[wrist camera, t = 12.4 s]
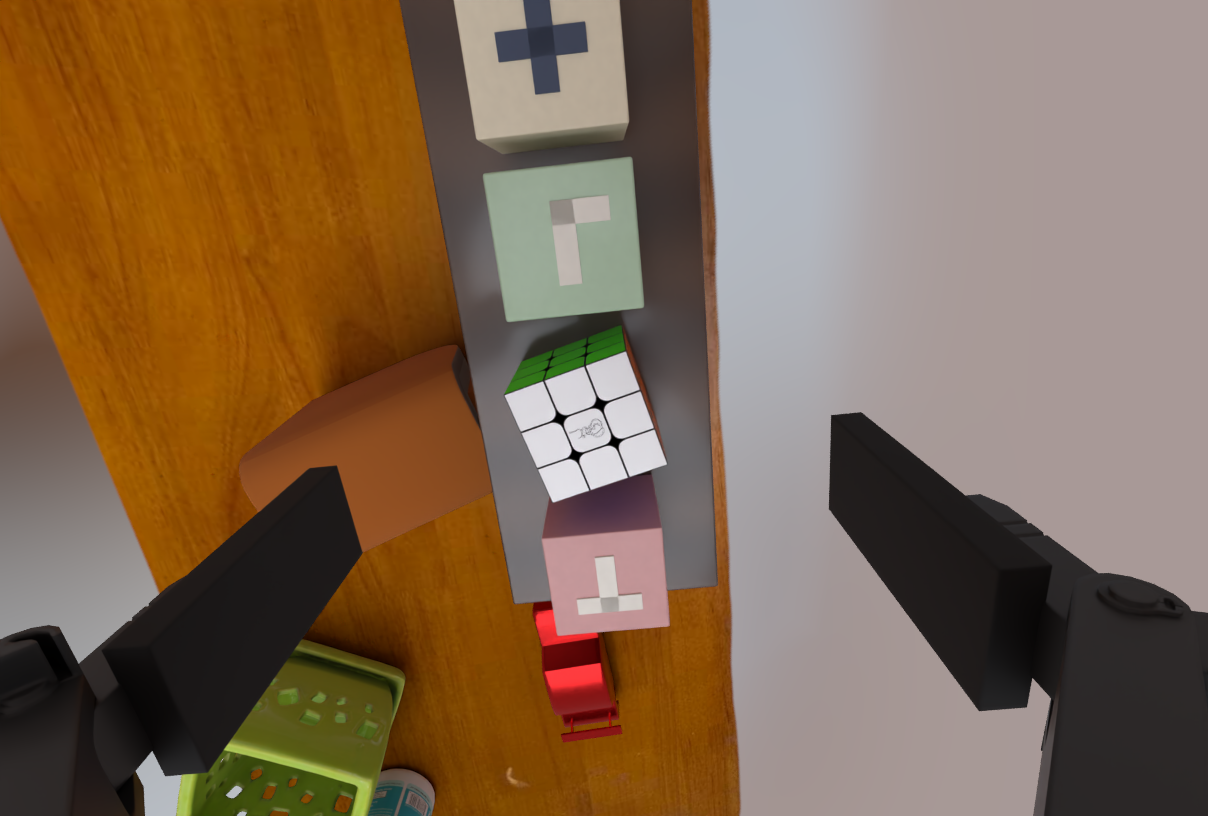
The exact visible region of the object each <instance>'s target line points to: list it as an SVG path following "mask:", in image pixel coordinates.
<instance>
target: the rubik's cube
mask: <svg viewBox="0 0 1208 816" xmlns="http://www.w3.org/2000/svg"><path fill="white" fill-rule="evenodd" d="M504 397H505V400H506V402H507V404H508V406H509V408H510V411H511V413H512V415H513V417H514V419H515V422H516V424H517V426H518V428H519V431H520V432H521V435H522V437H523V439H524V442H525V444H526V446H527V448H528V450H529V453H530V455H531V457H532V459H533V461H534V464H535V466H536V468H537V470H538V473H539V475H540V477H541V479H542V481H543V484H544V486H545V488H546V490H547V492H548V495H549V497H550V499H551V501H552V503H555V502H558V501H561V500H564V499H567V498H570V497H573V496H576V495H579V494H582V493H585V492H588V491H590V490H594V489H597V488H600V487H603V486H606V485H609V484H612V483H615V482H618V481H621V480H624V479H627V478H629V477H633V476H636V475H639V474H642V473H645V472H648V471H651V470H654V469H657V468H660V467H663V466H665V465H668V462H667V458H666V454H665V450H664V446H663V442H662V439H661V435H660V431H659V427H658V423H657V420H656V417H655V414H654V411H653V409H652V406H651V403H650V400H649V398H648V395H647V392H646V389H645V387H644V384H643V381H642V378H641V376H640V373H639V370H638V367H637V365H636V362H635V359H634V356H633V354H632V351H631V348H630V346H629V343H628V340H627V337H626V335H625V332H624V329H623V326H622V325H620V326H617V327H614V328H612V329H609V330H606V331H604V332H601V333H598V334H595V335H593V336H590V337H588V338H585V339H582V340H579V341H576V342H574V343H571V344H568V345H566V346H563V347H560V348H557V349H555V350H552V351H549V352H546V353H544V354H541V355H538V356H536V357H533V358H530V359H527V360H525V361H522V362H521V363H520V365H519V367H518V369H517V371H516V373H515V374H514V376H513V378H512V380H511V382H510V384H509V386H508V388H507V389H506V391H505V393H504Z"/></svg>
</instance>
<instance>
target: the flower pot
mask: <svg viewBox="0 0 1208 816" xmlns="http://www.w3.org/2000/svg"><path fill="white" fill-rule="evenodd" d="M404 685H405V674H404V673H403V672H402V671H401V670H400V669H398V668H396V667H393V666H390V665H387V664H384V663H381V662H378V661H374V660H371V659H368V658H364V657H361V656H358V655H355V654H351V653H348V652H345V651H342V650H338V649H335V648H332V647H328V646H325V645H321V644H318V643H315V642H311V641H308V640H304V639H302V640H301V641H300V643H299V644H298V646H297V647H296V648H295V650H294V651H293V653H292V654H291V655H290V657H289V658H288V660H287V661H286V663H285V664H284V665H283V667H282V668H281V670H280V671H279V672H278V674H277V675H276V677H275V678H274V680H273V681H272V682H271V684H270V685H269V687H268V688H267V689H266V691H265V692H264V694H263V695H262V697H261V698H260V699H259V701H258V702H257V704H256V705H255V706H254V708H253V709H252V711H251V712H250V714H249V715H248V716H247V718H246V719H245V721H244V722H243V724H242V725H241V726H240V728H239V729H238V731H237V732H236V733H235V735H234V736H233V738H232V739H231V741H230V742H229V743H228V745H227V746H226V748H225V749H224V750H223V752H222V753H221V755H220V756H219V758H218V759H217V760H216V762H215V763H214V765H213V766H212V767H211V769H210V770H209V772H208V773H199V774H186V775H182V777H181V784H180V790H179V797H178V805H177V814H176V816H237V814H238V813H239V812H242V811H244V812H247V814H246V816H269V815H270V814H271V812H272V811H273V810H277V811H284V812H288V816H368V813H369V810H370V807H371V804H372V800H373V797H374V793H375V790H376V787H377V783H378V779H379V776H380V772H381V768H382V764H383V760H384V756H385V752H386V747H387V743H388V738H389V733H390V729H391V726H392V723H393V721H394V718H395V715H396V712H397V709H398V706H399V703H400V700H401V696H402V693H403V689H404ZM236 753H237V754H236ZM235 755H236V756H235ZM223 758H224V759H223ZM222 759H223V760H222ZM221 760H222V762H221ZM259 768H260V769H261V770H262V775H261V776H260V777H259V778H257V779H254V780H252V779H251V773H252V772H253V771H254V770H257V769H259ZM293 778H297V782H296V785H295V786H293V787H288V784H289V781H290V780H291V779H293ZM235 786H239V787H241V788H242V789H243V790H242V791H241V792H240V793H239V794H238V796H236V797H235V798H228V797H227V796H226V794H227V793H228V792H229V791H230V790H231V789H232V788H233V787H235ZM267 786H276V787H277V788H276V790H275V793H274V795H273V797H272V798H271V799H263V798H262V797H263V794H264V792H265V789H266V788H267ZM306 794H310V795H311V796H313V798H312V799H311V801H310V802H309V803H303V802H301V799H302V797H303V796H304V795H306ZM340 795H345V796H347V797H350V798H352V802H351V805H350V807H349V809H348V811H347V812H346V813H342V812H338V811H336V810H334V807H335V804H336V802H337V799H338V797H339V796H340Z"/></svg>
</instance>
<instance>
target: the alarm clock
mask: <svg viewBox="0 0 1208 816" xmlns="http://www.w3.org/2000/svg"><path fill="white" fill-rule="evenodd" d="M335 465H337V467H338V471H339V474H340V477H341V481H342V484H343V488H344V491H345V494H346V498H347V501H348V504H349V508H350V511H351V515H352V518H353V521H354V525H355V528H356V532H357V535H358V538H359V542H360V545H361V549H362V552H364V551H366V550H369V549H371V548H373V547H375V546H377V545H379V544H382V543H384V542H386V541H388V540H390V539H392V538H395V537H397V536H399V535H401V534H403V533H405V532H407V531H410V530H412V529H414V528H416V527H418V526H420V525H423V524H425V523H427V522H429V521H431V520H433V519H435V518H438V517H440V516H442V515H444V514H446V513H448V512H451V511H453V510H455V509H457V508H459V507H461V506H464V505H466V504H468V503H470V502H472V501H474V500H476V499H479V498H481V497H483V496H485V495H487V494H489V493H492V486H491V481H490V476H489V471H488V465H487V460H486V455H485V450H484V444H483V439H482V434H481V428H480V423H479V418H478V413H477V407H476V402H475V397H474V392H473V386H472V381H471V376H470V370H469V366H468V364H467V362H466V360H465V358H464V356H463V354H462V352H461V350H460V348H459V347H458V346H457V345H446V346H443V347H439V348H435V349H432V350H429V351H426V352H423V353H421V354H418V355H416V356H413V357H411V358H408V359H405V360H403V361H401V362H398V363H396V364H394V365H391V366H389V367H387V368H384V369H382V370H380V371H378V372H375V373H373V374H371V375H368V376H366V377H364V378H362V379H359V380H357V381H355V382H353V383H350V384H348V385H346V386H344V387H341V388H339V389H337V390H334V391H332V392H330V393H328V394H325V395H323V396H321V397H319V398H316V399H314V400H312V401H311V402H310V403H308V404H307V405H306V406H305V407H303V408H302V409H301V410H300V411H298V412H297V413H296V414H295V415H293V416H292V417H291V418H290V419H288V420H287V421H286V422H285V423H283V424H282V425H281V426H280V427H278V428H277V429H276V430H275V431H273V432H272V433H271V434H270V435H268V436H267V437H266V438H265V439H263V440H262V441H261V442H260V443H258V444H257V445H256V446H255V447H253V448H252V449H251V450H250V451H248V452H247V453H246V454H245V455H244V456H243V458H242V459H241V461H240V465H239V475H240V479H241V483H242V485H243V488H244V490H245V492H246V494H247V496H248V497H249V499H250V501H251V502H252V504H253V505H254V506H255V508H256V509H257V511H258V512H260V511H261V510H262V509H263V508H264V507H265V506H266V505H268V504H269V503H270V502H271V501H272V500H273V499H274V498H276V497H277V496H278V495H279V494H280V493H281V492H282V491H284V490H285V489H286V488H287V487H288V486H289V485H290V484H292V483H293V482H294V481H295V480H296V479H297V478H298V477H300V476H301V475H302V474H303V473H304V472H305V471H306V470H308V469H309V468H315V467H325V466H335Z"/></svg>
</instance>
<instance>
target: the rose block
mask: <svg viewBox="0 0 1208 816" xmlns="http://www.w3.org/2000/svg"><path fill="white" fill-rule="evenodd" d="M542 545H543V552H544V558H545V564H546V570H547V576H548V582H549V589H550V595H551V601H552V607H553V613H554V619H555V625H556V632H557V635H558V636H562V635H573V634H585V633H596V632H608V631H619V630H631V629H642V628H653V627H665V626H670V619H669V607H668V594H667V582H666V570H665V557H664V545H663V532H662V525H661V519H660V514H659V509H658V503H657V498H656V493H655V488H654V482H653V477H652V475H651V474H650V475H640V476H633V477H629V478H627V479H624V480H621V481H618V482H615V483H612V484H609V485H606V486H603V487H600V488H597V489H594V490H590V491H588V492H585V493H582V494H579V495H576V496H573V497H570V498H567V499H564V500H561V501H558V502H555V503H552V501H551V499H550V497H549V501H548V507H547V512H546V518H545V523H544V528H543V534H542Z"/></svg>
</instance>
